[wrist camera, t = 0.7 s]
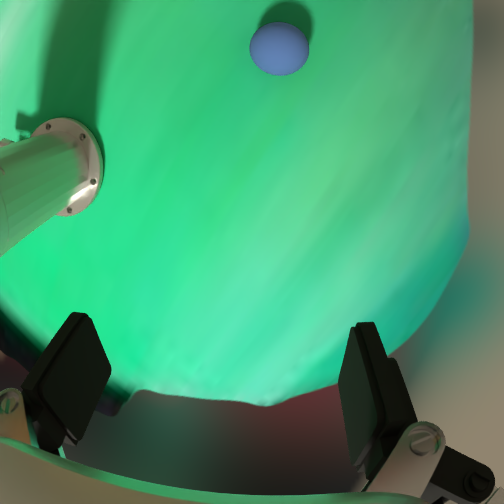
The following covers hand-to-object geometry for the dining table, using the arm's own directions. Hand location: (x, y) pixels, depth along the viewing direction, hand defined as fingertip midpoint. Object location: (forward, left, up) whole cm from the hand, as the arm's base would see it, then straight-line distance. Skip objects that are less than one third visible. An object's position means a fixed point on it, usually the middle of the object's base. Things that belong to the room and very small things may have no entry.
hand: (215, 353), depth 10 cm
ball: (-2, +13, -23) cm, 26 cm away
